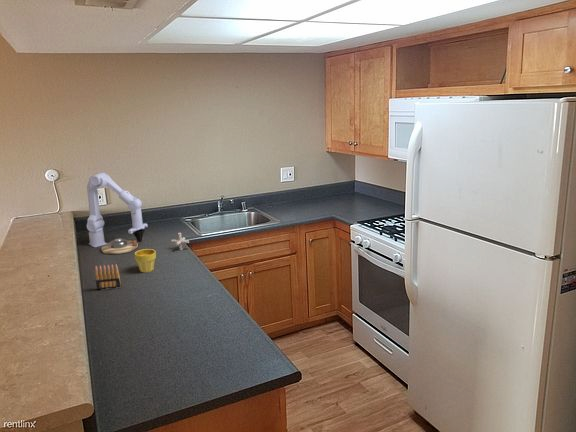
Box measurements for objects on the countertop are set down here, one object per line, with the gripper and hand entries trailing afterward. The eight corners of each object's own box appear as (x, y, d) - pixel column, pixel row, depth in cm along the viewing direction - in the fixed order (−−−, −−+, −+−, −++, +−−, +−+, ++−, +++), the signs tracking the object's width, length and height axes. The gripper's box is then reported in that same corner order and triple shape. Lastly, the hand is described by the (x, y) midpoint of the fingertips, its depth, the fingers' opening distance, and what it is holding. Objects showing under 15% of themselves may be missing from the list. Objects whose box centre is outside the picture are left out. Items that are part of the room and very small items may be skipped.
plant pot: (161, 267, 235) (159, 250, 232) (148, 275, 226) (145, 256, 223) (146, 265, 239) (144, 247, 237) (132, 272, 230) (129, 254, 228)
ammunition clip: (121, 286, 214) (118, 262, 211) (120, 288, 212) (117, 264, 209) (97, 288, 212) (94, 265, 209) (96, 290, 210) (93, 266, 207)
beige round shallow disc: (96, 248, 265) (95, 241, 264) (128, 240, 279) (128, 233, 277) (110, 256, 251) (109, 249, 250) (143, 247, 264) (143, 240, 263)
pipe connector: (185, 253, 255) (184, 236, 253) (169, 252, 257) (167, 235, 254) (192, 247, 265) (191, 230, 262) (176, 246, 267) (175, 230, 264)
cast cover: (108, 246, 264) (107, 239, 263) (123, 242, 270) (122, 235, 269) (115, 249, 258) (114, 243, 257) (130, 245, 264) (129, 239, 263)
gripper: (134, 223, 256) (137, 246, 260) (150, 216, 269) (153, 238, 273) (124, 222, 259) (127, 245, 263) (141, 216, 272) (143, 237, 275)
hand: (139, 241), depth 268 cm, fingers closed
